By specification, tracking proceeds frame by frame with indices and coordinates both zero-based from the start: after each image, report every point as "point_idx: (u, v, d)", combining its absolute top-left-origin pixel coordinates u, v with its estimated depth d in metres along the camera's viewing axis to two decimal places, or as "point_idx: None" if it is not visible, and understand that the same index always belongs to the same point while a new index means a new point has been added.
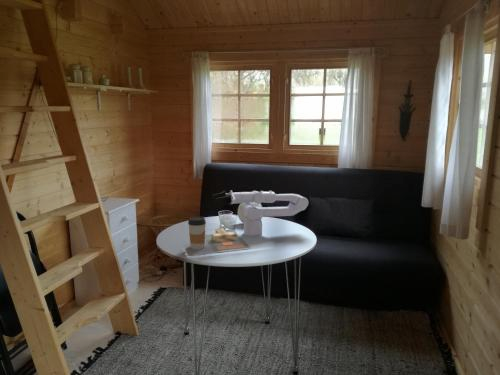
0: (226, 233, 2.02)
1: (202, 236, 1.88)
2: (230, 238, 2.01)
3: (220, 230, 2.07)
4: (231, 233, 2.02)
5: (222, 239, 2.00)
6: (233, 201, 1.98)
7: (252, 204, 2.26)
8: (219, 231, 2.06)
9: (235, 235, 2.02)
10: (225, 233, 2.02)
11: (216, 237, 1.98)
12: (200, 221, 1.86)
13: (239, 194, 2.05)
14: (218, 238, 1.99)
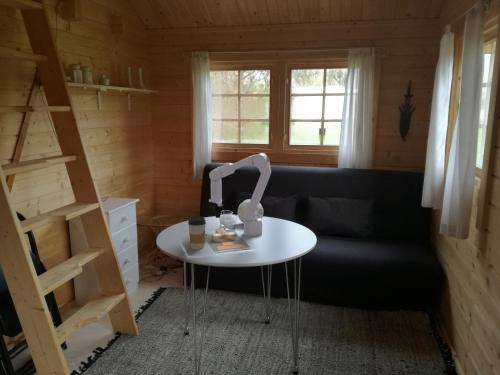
0: (226, 233, 2.02)
1: (202, 236, 1.88)
2: (230, 238, 2.01)
3: (220, 230, 2.07)
4: (231, 233, 2.02)
5: (222, 239, 2.00)
6: (219, 204, 2.06)
7: None
8: (219, 231, 2.06)
9: (235, 235, 2.02)
10: (225, 233, 2.02)
11: (216, 237, 1.98)
12: (200, 221, 1.86)
13: (213, 194, 2.10)
14: (218, 238, 1.99)
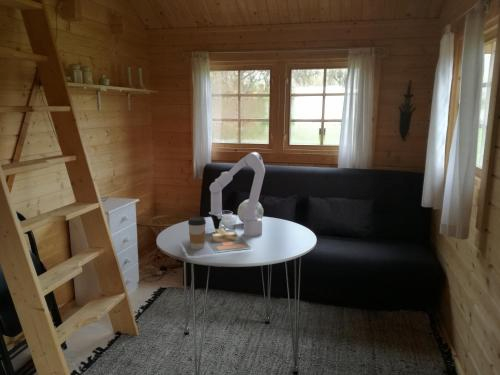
0: (226, 233, 2.02)
1: (202, 236, 1.88)
2: (230, 238, 2.01)
3: (220, 230, 2.07)
4: (231, 233, 2.02)
5: (222, 239, 2.00)
6: (220, 217, 2.07)
7: None
8: (219, 231, 2.06)
9: (235, 235, 2.02)
10: (225, 233, 2.02)
11: (216, 237, 1.98)
12: (200, 221, 1.86)
13: (213, 206, 2.11)
14: (218, 238, 1.99)
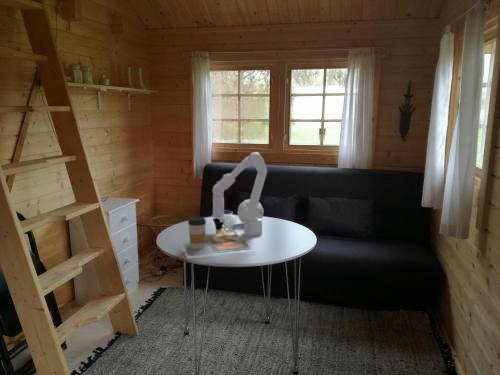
0: (226, 233, 2.02)
1: (202, 236, 1.88)
2: (230, 238, 2.00)
3: (220, 230, 2.07)
4: (231, 233, 2.02)
5: (222, 239, 1.99)
6: (222, 220, 2.04)
7: None
8: (219, 231, 2.05)
9: (235, 235, 2.01)
10: (225, 234, 2.01)
11: (216, 238, 1.98)
12: (200, 221, 1.86)
13: (215, 209, 2.07)
14: (219, 239, 1.98)
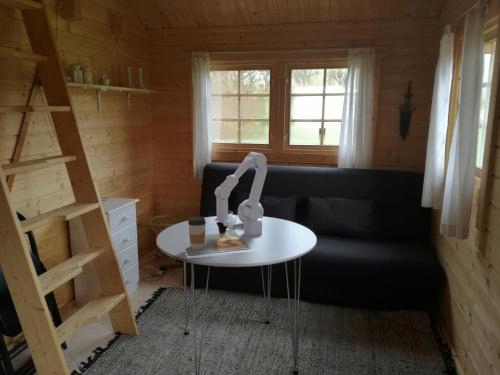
0: (230, 238, 1.95)
1: (202, 236, 1.88)
2: (235, 243, 1.93)
3: (224, 234, 2.00)
4: (236, 238, 1.95)
5: (226, 244, 1.92)
6: (226, 224, 1.97)
7: None
8: (223, 235, 1.98)
9: (240, 240, 1.94)
10: (229, 238, 1.94)
11: (220, 242, 1.91)
12: (200, 221, 1.86)
13: (219, 213, 2.00)
14: (223, 243, 1.91)
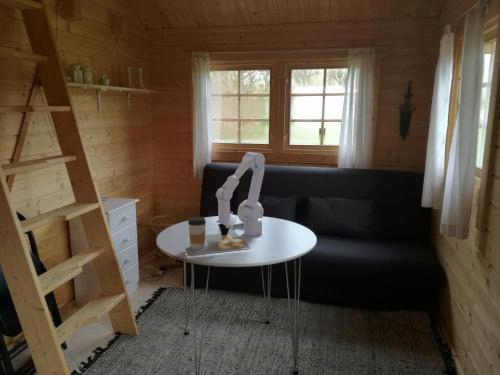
0: (233, 240, 1.91)
1: (202, 236, 1.88)
2: (237, 245, 1.90)
3: (226, 237, 1.97)
4: (238, 240, 1.92)
5: (228, 246, 1.89)
6: (228, 226, 1.93)
7: None
8: (225, 238, 1.95)
9: (242, 242, 1.91)
10: (231, 240, 1.91)
11: (222, 245, 1.87)
12: (200, 221, 1.86)
13: (220, 214, 1.97)
14: (225, 246, 1.88)
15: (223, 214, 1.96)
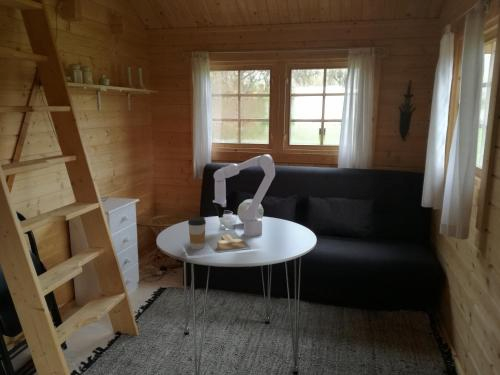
0: (233, 240, 1.91)
1: (202, 236, 1.88)
2: (237, 245, 1.90)
3: (226, 237, 1.97)
4: (238, 240, 1.91)
5: (228, 246, 1.89)
6: (224, 205, 2.05)
7: None
8: (225, 238, 1.95)
9: (242, 242, 1.91)
10: (231, 240, 1.91)
11: (222, 245, 1.87)
12: (200, 221, 1.86)
13: (217, 194, 2.08)
14: (225, 246, 1.88)
15: (219, 194, 2.08)
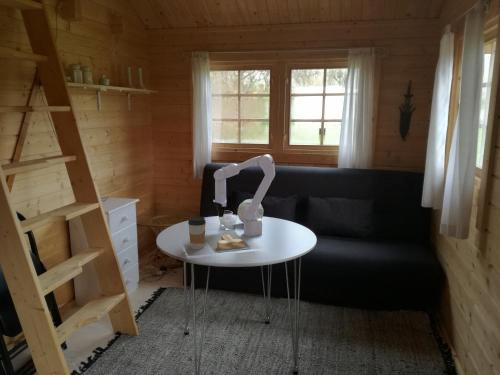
0: (233, 240, 1.91)
1: (202, 236, 1.88)
2: (237, 245, 1.90)
3: (226, 237, 1.97)
4: (238, 240, 1.91)
5: (228, 246, 1.89)
6: (224, 205, 2.05)
7: None
8: (225, 238, 1.95)
9: (242, 242, 1.91)
10: (231, 240, 1.91)
11: (222, 245, 1.87)
12: (200, 221, 1.86)
13: (217, 194, 2.09)
14: (225, 246, 1.88)
15: (219, 194, 2.08)
